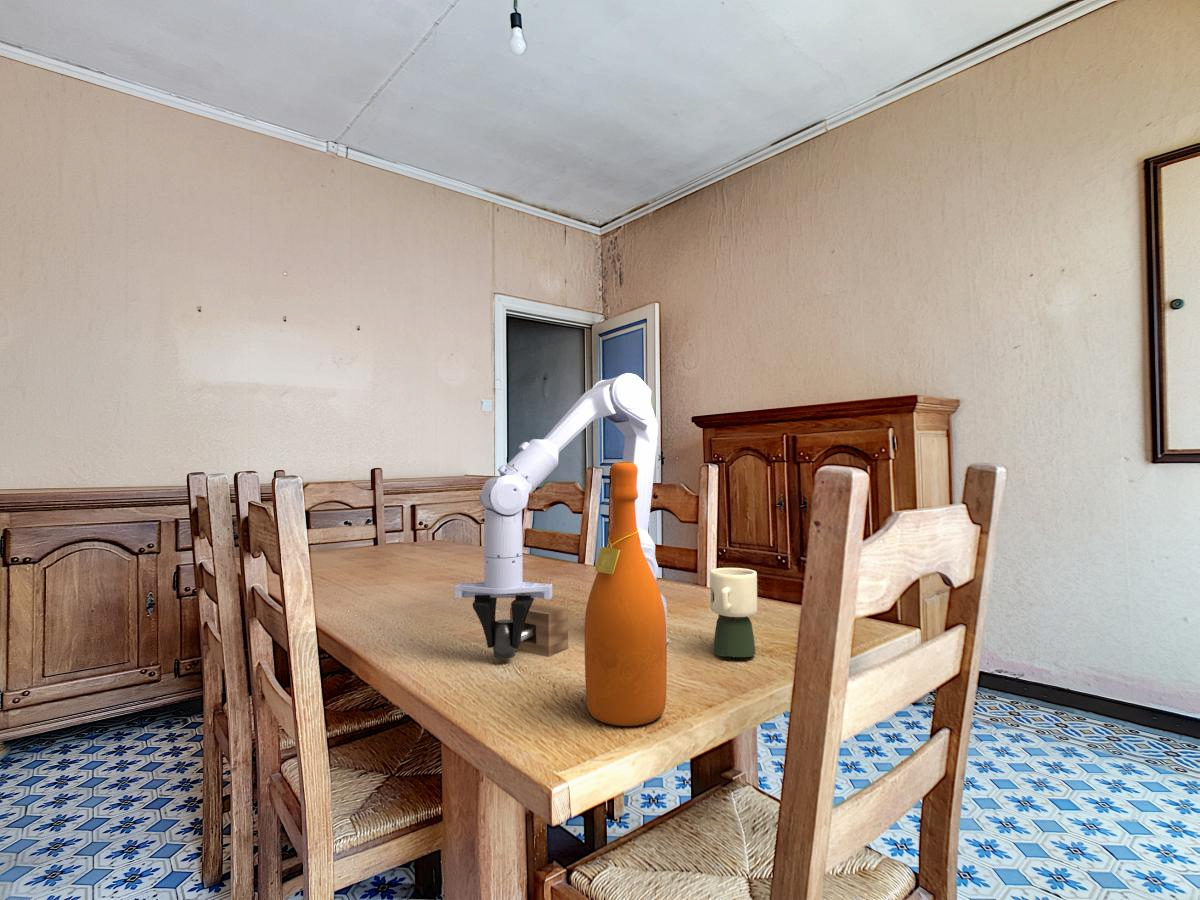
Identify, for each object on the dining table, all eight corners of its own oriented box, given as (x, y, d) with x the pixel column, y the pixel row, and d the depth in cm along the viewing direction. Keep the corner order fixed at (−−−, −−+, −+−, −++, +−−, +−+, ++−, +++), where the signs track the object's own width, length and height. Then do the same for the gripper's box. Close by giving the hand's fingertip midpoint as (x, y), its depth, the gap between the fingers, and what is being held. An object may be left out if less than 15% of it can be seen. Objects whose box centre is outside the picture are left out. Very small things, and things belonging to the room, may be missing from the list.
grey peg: (544, 635, 102) (544, 605, 102) (559, 638, 100) (559, 607, 100) (488, 656, 91) (488, 623, 91) (504, 660, 89) (504, 626, 89)
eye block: (530, 640, 102) (530, 601, 102) (568, 648, 98) (567, 607, 98) (510, 648, 98) (509, 607, 98) (548, 656, 94) (548, 614, 94)
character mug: (721, 643, 100) (721, 564, 100) (765, 649, 96) (764, 567, 97) (700, 663, 90) (699, 575, 90) (748, 670, 87) (747, 579, 87)
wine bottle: (583, 698, 77) (581, 462, 78) (660, 695, 78) (657, 461, 78) (587, 732, 67) (584, 461, 68) (674, 728, 68) (671, 461, 69)
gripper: (555, 551, 95) (555, 639, 95) (464, 551, 96) (465, 637, 96) (547, 558, 88) (548, 653, 88) (450, 558, 89) (450, 651, 89)
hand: (504, 646), depth 91 cm, fingers closed on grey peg, 3 cm apart
